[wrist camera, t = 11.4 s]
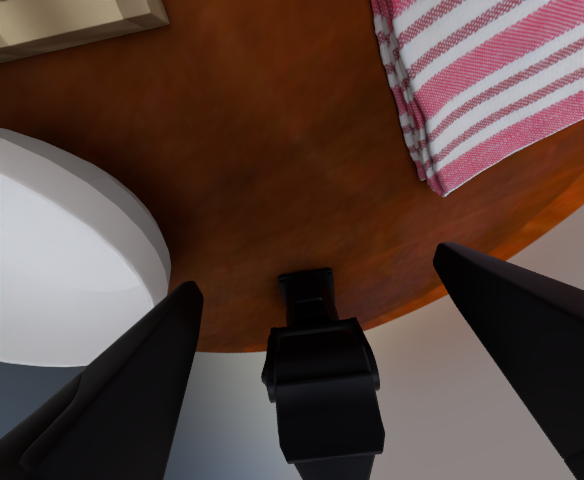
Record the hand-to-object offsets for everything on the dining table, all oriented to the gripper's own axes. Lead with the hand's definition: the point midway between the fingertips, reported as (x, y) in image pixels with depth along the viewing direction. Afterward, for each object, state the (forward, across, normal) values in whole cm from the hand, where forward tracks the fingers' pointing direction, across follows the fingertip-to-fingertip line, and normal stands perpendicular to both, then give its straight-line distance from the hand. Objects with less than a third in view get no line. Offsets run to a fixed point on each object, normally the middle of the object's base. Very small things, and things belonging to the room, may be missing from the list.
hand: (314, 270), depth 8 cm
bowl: (+13, +20, +2) cm, 24 cm away
